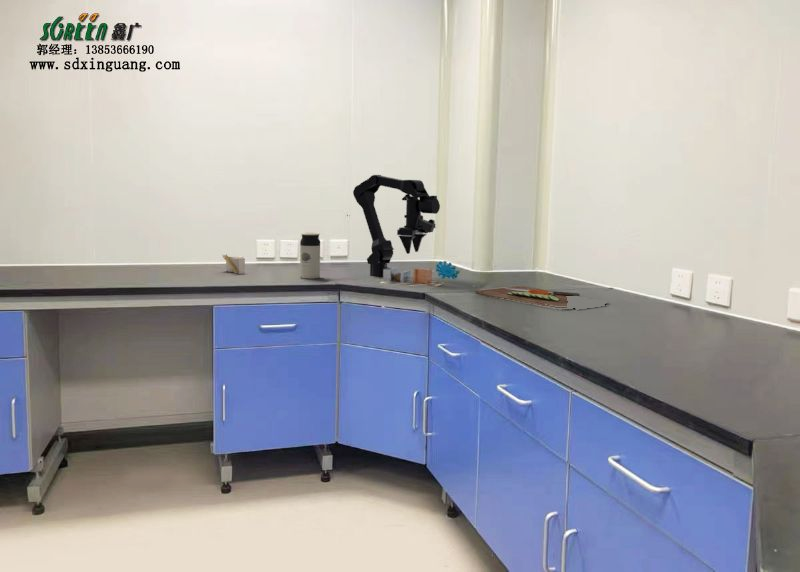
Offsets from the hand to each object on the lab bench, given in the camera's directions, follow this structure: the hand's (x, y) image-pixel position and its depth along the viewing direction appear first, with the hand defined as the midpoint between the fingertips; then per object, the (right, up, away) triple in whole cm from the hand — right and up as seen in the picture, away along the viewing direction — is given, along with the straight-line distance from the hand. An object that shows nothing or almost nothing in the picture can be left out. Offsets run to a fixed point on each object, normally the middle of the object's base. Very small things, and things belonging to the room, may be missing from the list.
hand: (412, 252), depth 264 cm
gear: (+15, -11, +14) cm, 23 cm away
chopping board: (+44, -18, -26) cm, 54 cm away
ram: (+1, -12, -8) cm, 14 cm away
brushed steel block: (-8, -11, -4) cm, 15 cm away
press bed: (-1, -13, -7) cm, 15 cm away
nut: (-5, -12, -5) cm, 14 cm away
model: (-75, -8, +19) cm, 77 cm away
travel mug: (-41, -10, +10) cm, 44 cm away
